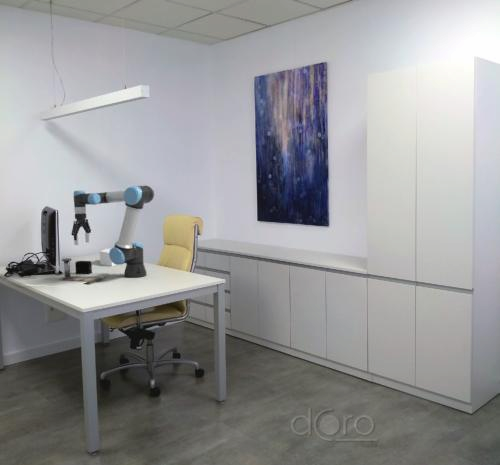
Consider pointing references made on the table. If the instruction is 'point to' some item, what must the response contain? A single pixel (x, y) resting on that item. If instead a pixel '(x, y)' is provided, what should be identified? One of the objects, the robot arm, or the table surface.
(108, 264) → the white rectangular block
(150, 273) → the table surface
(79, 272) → the electronic device
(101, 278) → the walnut board
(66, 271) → the bobbin
